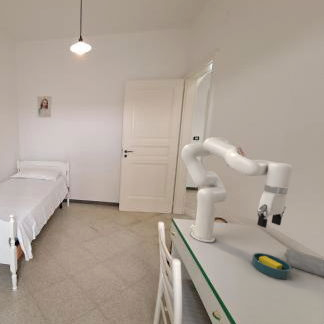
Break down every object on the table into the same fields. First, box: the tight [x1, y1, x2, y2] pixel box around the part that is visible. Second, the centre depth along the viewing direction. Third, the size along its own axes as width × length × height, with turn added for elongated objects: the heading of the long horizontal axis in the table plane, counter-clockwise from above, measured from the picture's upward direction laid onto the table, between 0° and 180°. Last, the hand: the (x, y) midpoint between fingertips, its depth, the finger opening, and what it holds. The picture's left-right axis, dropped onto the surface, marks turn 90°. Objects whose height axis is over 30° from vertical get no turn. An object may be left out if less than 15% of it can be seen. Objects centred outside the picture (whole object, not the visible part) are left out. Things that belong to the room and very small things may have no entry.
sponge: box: [259, 256, 282, 270], centre depth 98 cm, size 7×4×4 cm, turn 17°
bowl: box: [251, 252, 293, 280], centre depth 97 cm, size 13×13×4 cm
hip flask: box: [285, 248, 324, 278], centre depth 99 cm, size 16×4×20 cm
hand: (268, 225), depth 95 cm, fingers open, 9 cm apart
